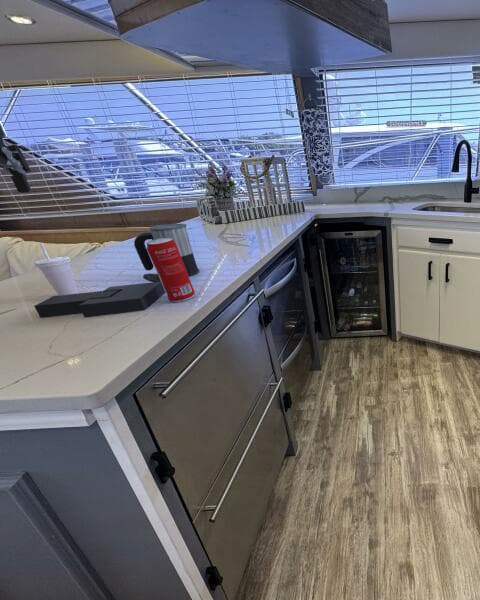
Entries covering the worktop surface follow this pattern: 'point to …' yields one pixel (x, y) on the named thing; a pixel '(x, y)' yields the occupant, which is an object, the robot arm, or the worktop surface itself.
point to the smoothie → (58, 273)
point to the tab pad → (68, 303)
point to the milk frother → (178, 236)
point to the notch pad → (124, 299)
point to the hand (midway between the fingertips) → (10, 194)
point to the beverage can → (170, 269)
